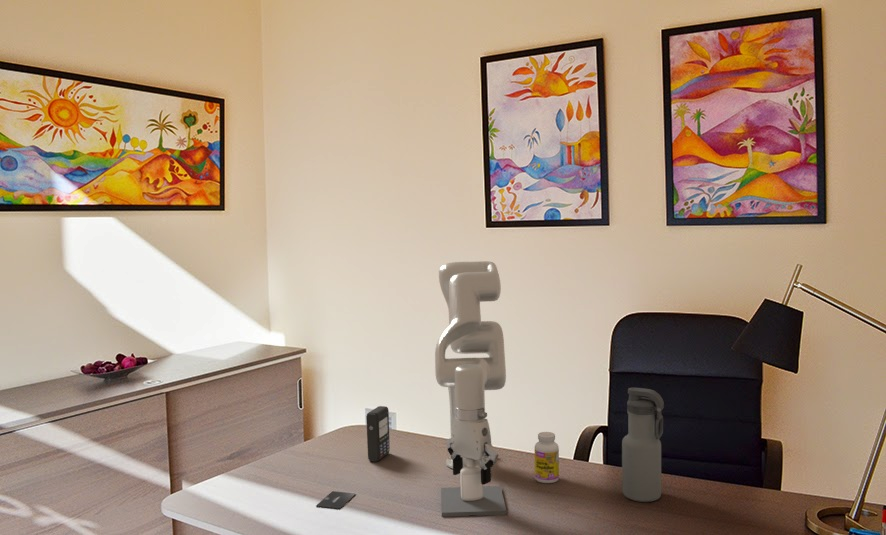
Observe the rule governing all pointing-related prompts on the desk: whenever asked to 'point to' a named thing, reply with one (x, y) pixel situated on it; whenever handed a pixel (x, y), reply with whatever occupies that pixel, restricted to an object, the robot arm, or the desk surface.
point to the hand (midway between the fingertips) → (471, 478)
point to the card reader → (378, 433)
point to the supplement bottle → (546, 458)
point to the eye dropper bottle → (471, 481)
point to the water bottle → (642, 446)
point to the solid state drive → (336, 500)
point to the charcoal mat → (472, 502)
